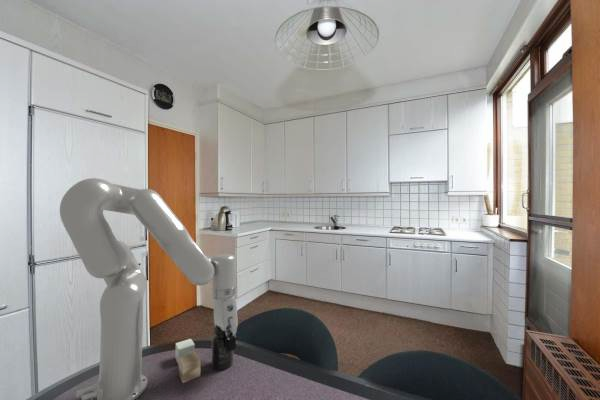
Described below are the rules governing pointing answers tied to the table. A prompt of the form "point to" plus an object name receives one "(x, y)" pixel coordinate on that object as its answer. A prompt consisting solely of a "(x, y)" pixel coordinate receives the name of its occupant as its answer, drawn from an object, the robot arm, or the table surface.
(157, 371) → the table surface
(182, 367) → the beech block
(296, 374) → the table surface
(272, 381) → the table surface
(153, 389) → the table surface
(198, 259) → the robot arm
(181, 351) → the sage block
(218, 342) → the supplement bottle
